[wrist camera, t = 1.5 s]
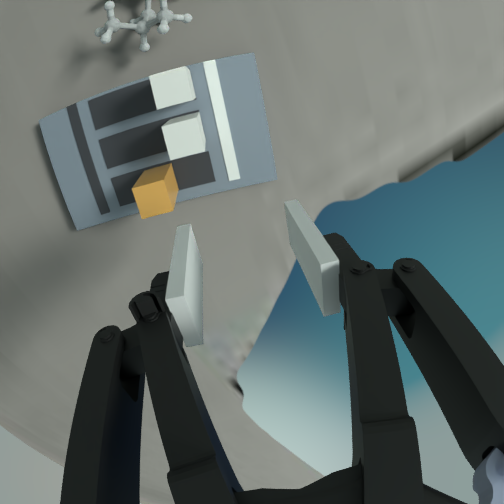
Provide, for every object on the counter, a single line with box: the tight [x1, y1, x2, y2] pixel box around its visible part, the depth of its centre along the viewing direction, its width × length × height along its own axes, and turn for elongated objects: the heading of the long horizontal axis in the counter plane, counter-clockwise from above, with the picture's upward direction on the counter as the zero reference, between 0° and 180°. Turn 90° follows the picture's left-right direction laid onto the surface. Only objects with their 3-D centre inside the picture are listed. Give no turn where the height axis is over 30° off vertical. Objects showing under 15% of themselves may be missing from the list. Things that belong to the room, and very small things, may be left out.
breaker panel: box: [39, 53, 277, 230], centre depth 29 cm, size 24×14×8 cm, turn 101°
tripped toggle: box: [132, 163, 179, 219], centre depth 30 cm, size 3×3×6 cm
